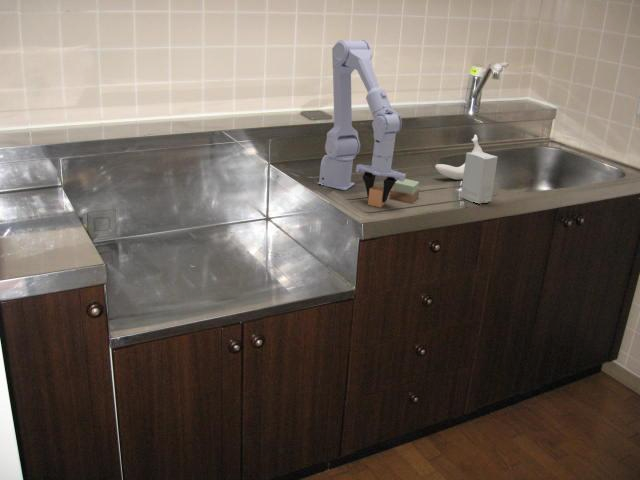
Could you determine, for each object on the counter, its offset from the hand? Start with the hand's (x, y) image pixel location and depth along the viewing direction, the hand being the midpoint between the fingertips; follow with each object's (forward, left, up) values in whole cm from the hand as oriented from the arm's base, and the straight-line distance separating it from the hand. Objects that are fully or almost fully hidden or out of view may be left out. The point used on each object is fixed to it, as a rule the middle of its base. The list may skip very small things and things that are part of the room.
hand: (377, 199), depth 207 cm
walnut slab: (+5, +11, -2) cm, 12 cm away
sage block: (+5, +11, +1) cm, 12 cm away
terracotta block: (0, 0, -1) cm, 1 cm away
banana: (+14, +43, -2) cm, 45 cm away
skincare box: (+24, +24, -2) cm, 34 cm away
